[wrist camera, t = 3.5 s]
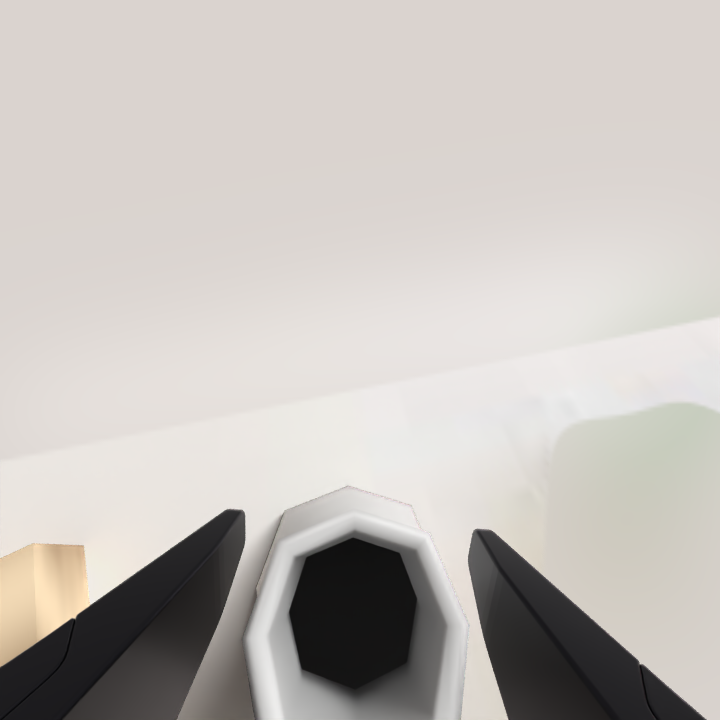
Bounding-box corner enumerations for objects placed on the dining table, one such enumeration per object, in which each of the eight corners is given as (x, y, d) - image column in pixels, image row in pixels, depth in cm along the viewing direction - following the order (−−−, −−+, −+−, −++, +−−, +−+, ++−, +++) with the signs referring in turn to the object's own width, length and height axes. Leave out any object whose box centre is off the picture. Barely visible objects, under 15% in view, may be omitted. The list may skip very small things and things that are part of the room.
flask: (267, 490, 15) (158, 398, 6) (427, 484, 15) (532, 390, 7) (245, 717, 11) (-83, 1241, 3) (457, 702, 12) (772, 1117, 3)
